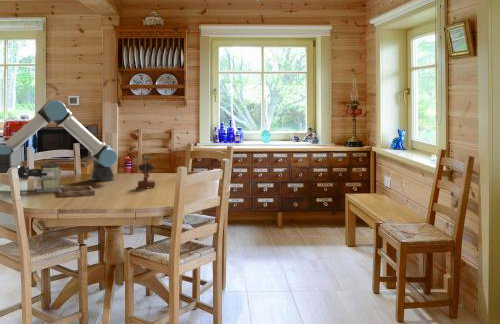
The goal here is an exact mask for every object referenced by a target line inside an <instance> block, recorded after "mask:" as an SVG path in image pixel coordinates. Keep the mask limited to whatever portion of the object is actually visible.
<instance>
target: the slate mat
mask: <svg viewBox="0 0 500 324" xmlns="http://www.w3.org/2000/svg"><path fill="white" fill-rule="evenodd" d="M60 187H66V186H65V185H60ZM35 191H36V193H37V194H38V193H39V194H40V193H53V192H54V193H55V192H57V193H58V189H56V190H42V186H40V187H39V186H37V187H35Z"/></svg>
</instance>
